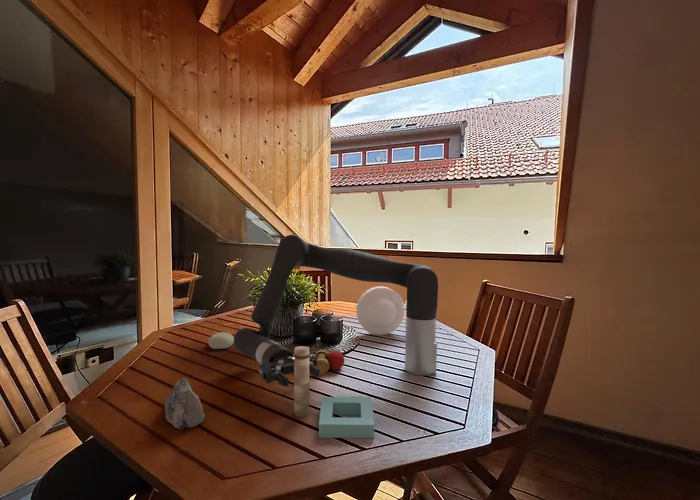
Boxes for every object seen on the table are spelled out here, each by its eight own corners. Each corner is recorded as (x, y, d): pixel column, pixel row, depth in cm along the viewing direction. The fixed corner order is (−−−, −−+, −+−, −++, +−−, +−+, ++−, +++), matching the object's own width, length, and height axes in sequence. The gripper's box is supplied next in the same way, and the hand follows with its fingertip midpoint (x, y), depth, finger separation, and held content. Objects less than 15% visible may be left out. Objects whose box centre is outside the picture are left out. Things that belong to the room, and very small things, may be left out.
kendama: (287, 380, 108) (346, 371, 109) (284, 359, 108) (343, 350, 109) (290, 374, 115) (345, 365, 117) (287, 354, 116) (342, 346, 117)
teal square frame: (370, 408, 89) (371, 397, 89) (374, 438, 77) (374, 424, 77) (322, 408, 89) (322, 396, 89) (318, 437, 77) (318, 424, 77)
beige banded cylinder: (310, 408, 89) (310, 346, 88) (308, 416, 85) (308, 351, 84) (295, 408, 89) (295, 346, 88) (292, 416, 85) (292, 351, 84)
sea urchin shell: (241, 338, 136) (230, 328, 130) (230, 357, 131) (219, 347, 125) (222, 335, 139) (211, 324, 134) (212, 353, 135) (200, 343, 129)
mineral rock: (170, 404, 91) (169, 365, 90) (214, 401, 92) (213, 363, 91) (150, 433, 78) (148, 389, 77) (202, 429, 80) (201, 386, 79)
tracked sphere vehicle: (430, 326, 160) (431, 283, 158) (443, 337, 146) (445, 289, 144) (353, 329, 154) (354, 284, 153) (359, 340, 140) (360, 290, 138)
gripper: (248, 349, 94) (275, 369, 81) (296, 339, 103) (327, 356, 90) (249, 376, 95) (275, 401, 82) (296, 364, 103) (327, 385, 90)
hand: (303, 377), depth 86 cm, fingers open, 8 cm apart
